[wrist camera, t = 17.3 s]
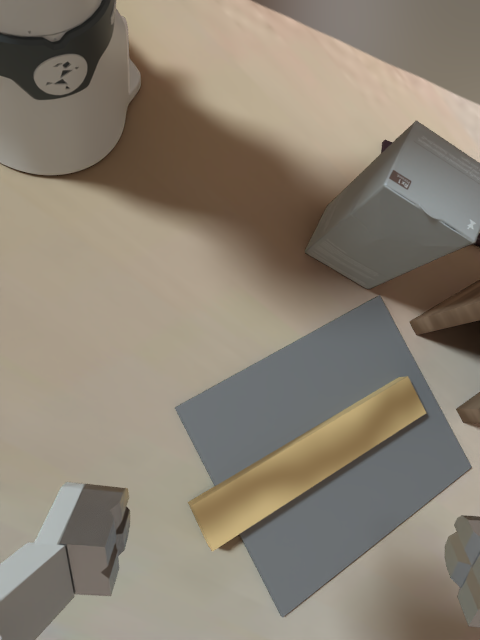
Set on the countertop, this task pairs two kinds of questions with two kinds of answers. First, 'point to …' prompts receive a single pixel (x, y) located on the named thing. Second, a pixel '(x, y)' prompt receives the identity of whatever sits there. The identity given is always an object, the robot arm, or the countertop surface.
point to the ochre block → (304, 462)
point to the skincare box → (401, 210)
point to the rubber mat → (306, 413)
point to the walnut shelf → (454, 311)
